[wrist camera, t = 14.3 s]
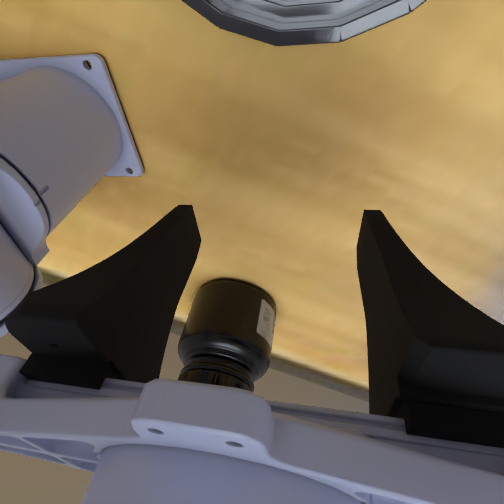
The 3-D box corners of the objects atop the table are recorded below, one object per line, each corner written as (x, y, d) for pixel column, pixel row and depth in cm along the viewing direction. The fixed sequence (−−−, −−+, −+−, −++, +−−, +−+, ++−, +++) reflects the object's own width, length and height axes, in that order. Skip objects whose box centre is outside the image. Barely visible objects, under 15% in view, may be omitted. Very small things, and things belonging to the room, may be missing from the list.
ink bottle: (257, 336, 38) (238, 448, 30) (188, 312, 37) (147, 422, 29) (292, 294, 32) (280, 423, 23) (209, 263, 30) (164, 387, 22)
